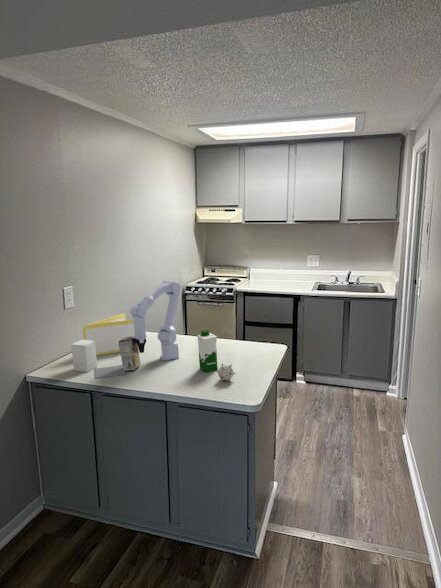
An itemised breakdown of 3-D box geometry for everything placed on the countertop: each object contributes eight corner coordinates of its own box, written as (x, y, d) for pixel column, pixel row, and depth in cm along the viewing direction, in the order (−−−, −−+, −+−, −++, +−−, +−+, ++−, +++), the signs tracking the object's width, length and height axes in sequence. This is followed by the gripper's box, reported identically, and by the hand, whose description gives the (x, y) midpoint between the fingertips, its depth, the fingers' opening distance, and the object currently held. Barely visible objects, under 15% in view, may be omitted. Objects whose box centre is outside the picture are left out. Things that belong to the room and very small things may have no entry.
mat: (123, 365, 227) (123, 364, 227) (125, 374, 214) (125, 373, 214) (95, 369, 223) (95, 368, 223) (95, 378, 210) (95, 377, 210)
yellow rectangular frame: (123, 340, 274) (120, 311, 271) (148, 344, 264) (146, 315, 260) (81, 357, 245) (78, 325, 241) (108, 362, 234) (105, 329, 230)
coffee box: (130, 365, 227) (125, 337, 225) (141, 364, 225) (136, 335, 224) (123, 370, 218) (118, 341, 216) (134, 370, 217) (129, 340, 215)
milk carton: (212, 364, 223) (210, 328, 219) (220, 369, 215) (218, 332, 211) (197, 368, 219) (195, 331, 215) (204, 373, 211) (202, 335, 207)
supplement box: (97, 366, 228) (95, 340, 225) (87, 372, 219) (84, 345, 216) (84, 365, 231) (81, 339, 228) (73, 371, 222) (70, 344, 219)
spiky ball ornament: (222, 387, 202) (215, 368, 206) (238, 379, 202) (230, 361, 206) (220, 385, 194) (212, 365, 197) (237, 377, 194) (228, 358, 197)
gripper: (130, 325, 225) (132, 349, 227) (133, 332, 211) (135, 357, 214) (144, 323, 227) (145, 347, 229) (147, 330, 213) (148, 355, 216)
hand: (141, 352), depth 222 cm, fingers closed
